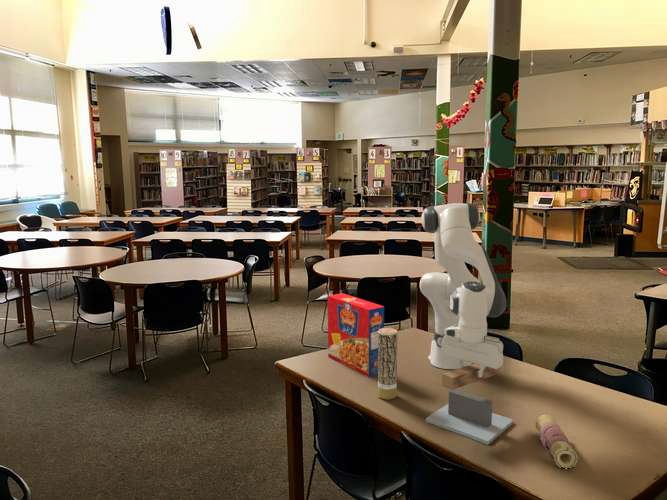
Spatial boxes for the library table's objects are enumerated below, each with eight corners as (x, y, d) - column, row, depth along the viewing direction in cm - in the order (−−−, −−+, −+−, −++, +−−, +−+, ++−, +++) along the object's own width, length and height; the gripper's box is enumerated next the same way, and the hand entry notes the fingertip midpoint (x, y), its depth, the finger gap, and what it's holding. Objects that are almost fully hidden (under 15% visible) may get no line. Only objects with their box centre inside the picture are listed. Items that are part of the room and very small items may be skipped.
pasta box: (328, 357, 231) (327, 295, 227) (342, 353, 236) (342, 293, 231) (368, 377, 209) (368, 309, 204) (383, 372, 213) (384, 306, 209)
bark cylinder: (395, 401, 187) (396, 334, 183) (376, 399, 189) (377, 333, 185) (397, 393, 194) (398, 328, 190) (379, 391, 195) (379, 327, 191)
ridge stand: (425, 421, 172) (426, 395, 171) (453, 403, 185) (454, 378, 184) (488, 444, 158) (489, 416, 156) (513, 423, 171) (514, 396, 169)
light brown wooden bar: (487, 370, 177) (487, 359, 176) (496, 374, 174) (497, 362, 173) (442, 385, 164) (442, 373, 164) (451, 390, 161) (452, 377, 160)
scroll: (527, 429, 164) (544, 464, 144) (538, 409, 163) (557, 442, 143) (549, 439, 164) (569, 477, 144) (561, 420, 162) (583, 455, 143)
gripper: (507, 337, 162) (505, 379, 164) (449, 324, 176) (448, 363, 178) (498, 342, 157) (496, 386, 159) (439, 328, 171) (438, 369, 173)
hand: (470, 374), depth 169 cm, fingers closed on light brown wooden bar, 4 cm apart
